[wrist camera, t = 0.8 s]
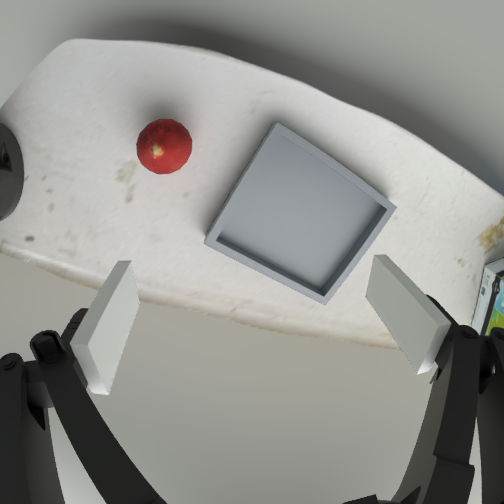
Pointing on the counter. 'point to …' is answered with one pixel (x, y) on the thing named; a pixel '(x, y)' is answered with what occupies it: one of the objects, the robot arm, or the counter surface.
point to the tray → (299, 216)
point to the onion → (164, 146)
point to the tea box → (490, 299)
